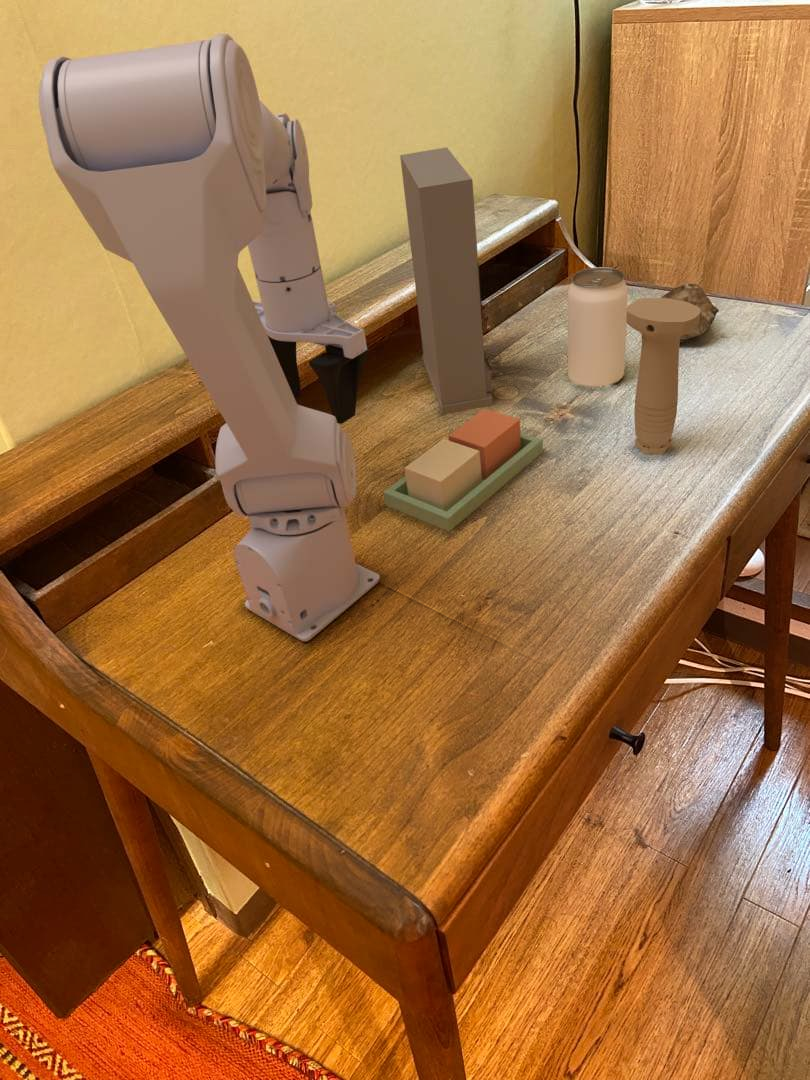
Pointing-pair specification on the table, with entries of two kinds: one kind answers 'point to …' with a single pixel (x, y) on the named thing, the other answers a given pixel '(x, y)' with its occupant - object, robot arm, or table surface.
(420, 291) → the tall grey pillar
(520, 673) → the table surface
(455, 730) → the table surface
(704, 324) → the fossilized seashell
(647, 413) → the handle
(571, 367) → the can
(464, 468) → the beige block
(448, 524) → the tray
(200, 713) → the table surface
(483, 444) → the orange red block
